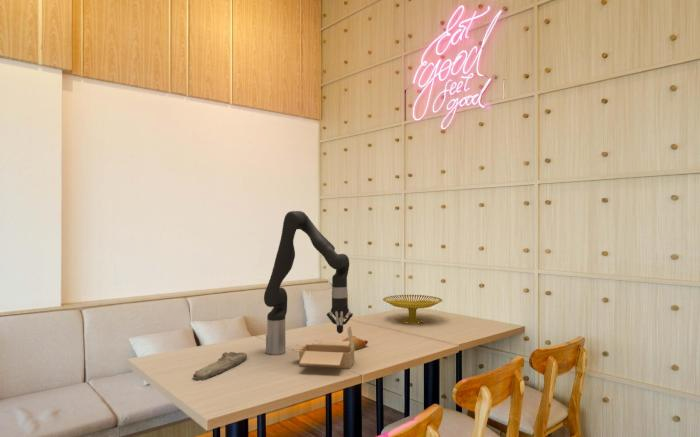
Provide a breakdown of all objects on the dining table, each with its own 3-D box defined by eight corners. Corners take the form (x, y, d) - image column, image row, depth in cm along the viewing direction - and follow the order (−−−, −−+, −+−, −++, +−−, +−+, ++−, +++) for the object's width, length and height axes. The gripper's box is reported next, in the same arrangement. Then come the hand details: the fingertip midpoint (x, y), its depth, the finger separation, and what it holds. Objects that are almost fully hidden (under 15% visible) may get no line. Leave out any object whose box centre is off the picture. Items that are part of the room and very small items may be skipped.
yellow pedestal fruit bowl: (371, 323, 302) (371, 300, 302) (400, 313, 334) (400, 292, 334) (426, 331, 278) (426, 306, 278) (452, 319, 311) (452, 297, 311)
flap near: (305, 350, 210) (299, 362, 200) (343, 352, 207) (339, 364, 197) (305, 351, 210) (299, 363, 200) (343, 353, 207) (339, 365, 197)
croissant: (334, 359, 233) (337, 347, 229) (327, 346, 241) (329, 334, 237) (369, 352, 243) (373, 341, 240) (361, 340, 251) (364, 329, 248)
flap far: (351, 351, 209) (347, 329, 210) (353, 346, 216) (349, 326, 217) (352, 350, 209) (348, 329, 210) (354, 346, 216) (350, 326, 217)
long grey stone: (186, 382, 194) (205, 387, 191) (186, 370, 194) (205, 374, 190) (235, 356, 227) (252, 359, 223) (235, 345, 227) (252, 348, 223)
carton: (290, 365, 211) (290, 350, 212) (302, 353, 231) (302, 339, 231) (350, 368, 207) (350, 352, 207) (356, 355, 227) (356, 341, 227)
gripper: (324, 297, 211) (324, 334, 211) (352, 297, 209) (352, 335, 209) (327, 294, 219) (328, 330, 219) (354, 295, 217) (355, 331, 216)
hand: (340, 333), depth 214 cm, fingers closed
